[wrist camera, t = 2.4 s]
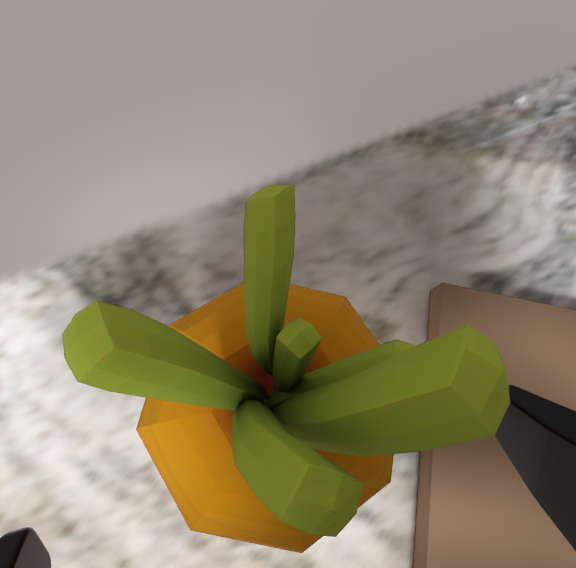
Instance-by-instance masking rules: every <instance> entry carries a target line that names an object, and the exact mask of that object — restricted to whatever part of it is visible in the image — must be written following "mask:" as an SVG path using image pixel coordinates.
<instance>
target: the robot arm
mask: <svg viewBox="0 0 576 568" xmlns="http://www.w3.org/2000/svg"><path fill="white" fill-rule="evenodd" d="M508 387H509V396H510V404H509V406H508V408H507V410H506V413H505V415H504V417H503V419H502V421H501V423H500V425H499V427H498V429H497V432H496V434H495V438H496V439H497V441H498V442H499V444H500V446H501V447H502V449H503V450H504V452H505V453H506V455H507V457H508V458H509V460H510V461H511V463H512V464H513V466H514V468H515V469H516V471H517V472H518V474H519V475H520V477H521V479H522V480H523V482H524V483H525V485H526V486H527V488H528V489H529V491H530V492H531V494H532V495H533V497H534V498H535V499H536V501H537V502H538V503H539V505H540V506H541V507H542V509H543V510H544V511H545V512H546V514H547V515H548V516H549V518H550V519H551V520H552V522H553V523H554V524H555V525H556V527H557V528H558V529H559V531H560V532H561V533H562V534H563V536H564V537H565V538H566V540H567V541H568V542H569V544H570V545H571V546H572V547H573V549H574V550H575V551H576V411H574V410H572V409H570V408H567V407H565V406H562V405H560V404H558V403H555V402H553V401H551V400H548V399H546V398H543V397H541V396H539V395H536V394H534V393H531V392H529V391H527V390H524V389H522V388H519V387H517V386H514V385H511V384H508ZM0 568H51V559H50V555H49V553H48V551H47V549H46V548H45V546H44V545H43V543H42V541H41V540H40V538H39V537H38V535H37V534H36V532H35V531H34V529H32V528H30V527H26V528H22V529H19V530H16V531H12V532H9V533H7V534H5V535H3V536H2V537H1V538H0Z"/></svg>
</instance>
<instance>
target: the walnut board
mask: <svg viewBox="0 0 576 568" xmlns="http://www.w3.org/2000/svg"><path fill="white" fill-rule="evenodd" d="M468 324H469V325H470V326H472V327H473V328H475V329H476V330H477V331H479V332H480V333H482V334H483V335H485V336H486V337H487V338H489V339H490V340H492V341H493V342H494V343H496V345H497V348H498V350H499V353H500V356H501V358H502V361H503V363H504V366H505V368H506V371H507V377H508V384H511V385H514V386H517V387H519V388H522V389H524V390H527V391H529V392H531V393H534V394H536V395H539V396H541V397H543V398H546V399H548V400H551V401H553V402H555V403H558V404H560V405H562V406H565V407H567V408H570V409H572V410H574V411H576V310H573V309H568V308H563V307H558V306H553V305H548V304H543V303H539V302H534V301H529V300H524V299H519V298H514V297H509V296H504V295H499V294H494V293H489V292H485V291H480V290H475V289H470V288H465V287H460V286H455V285H450V284H445V283H441V284H440V285H438V286H437V287H435V288H434V289H433V290H431V292H430V308H429V324H428V340H427V341H429V340H431V339H434V338H436V337H439V336H441V335H443V334H446V333H448V332H451V331H453V330H456V329H458V328H460V327H463V326H465V325H468ZM413 568H576V551H575V550H574V549H573V547H572V546H571V545H570V544H569V542H568V541H567V540H566V538H565V537H564V536H563V534H562V533H561V532H560V531H559V529H558V528H557V527H556V525H555V524H554V523H553V522H552V520H551V519H550V518H549V516H548V515H547V514H546V512H545V511H544V510H543V509H542V507H541V506H540V505H539V503H538V502H537V501H536V499H535V498H534V497H533V495H532V494H531V492H530V491H529V489H528V488H527V486H526V485H525V483H524V482H523V480H522V479H521V477H520V475H519V474H518V472H517V471H516V469H515V468H514V466H513V464H512V463H511V461H510V460H509V458H508V457H507V455H506V453H505V452H504V450H503V449H502V447H501V446H500V444H499V442H498V441H497V439H496V438H495V436H491V437H486V438H481V439H477V440H472V441H468V442H463V443H459V444H454V445H450V446H445V447H441V448H436V449H432V450H427V451H421V452H420V468H419V484H418V500H417V516H416V532H415V548H414V564H413Z"/></svg>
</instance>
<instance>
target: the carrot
mask: <svg viewBox="0 0 576 568" xmlns="http://www.w3.org/2000/svg"><path fill="white" fill-rule="evenodd" d="M294 234H295V199H294V186H291V185H269V186H267V187H266V188H264V189H262V190H260V191H259V192H257V193H255V194H254V195H253V196H252V197H251V198H249V199H248V200H247V201H246V206H245V220H244V283H242V284H240V285H238V286H237V287H235V288H233V289H231V290H230V291H228V292H226V293H224V294H223V295H221V296H219V297H217V298H216V299H214V300H212V301H211V302H209V303H207V304H205V305H204V306H202V307H200V308H198V309H197V310H195V311H193V312H191V313H190V314H188V315H186V316H184V317H183V318H181V319H179V320H178V321H176V322H174V323H172V324H171V325H169V326H167V325H165V324H162V323H160V322H158V321H155V320H153V319H151V318H149V317H146V316H144V315H142V314H139V313H137V312H135V311H133V310H130V309H126V308H122V307H119V306H115V305H111V304H107V303H103V302H100V301H96V302H94V303H92V304H91V305H89V306H88V307H86V308H85V309H83V310H82V311H80V312H78V313H77V314H75V316H74V317H73V319H72V320H71V322H70V323H69V325H68V326H67V328H66V329H65V331H64V333H63V334H62V336H63V345H64V355H65V359H66V361H67V363H68V365H69V367H70V369H71V370H72V372H73V374H74V376H75V378H76V380H77V382H81V383H84V384H87V385H90V386H94V387H97V388H100V389H103V390H107V391H111V392H117V393H123V394H129V395H135V396H141V397H146V400H145V403H144V406H143V409H142V413H141V416H140V419H139V422H138V426H137V429H136V430H137V432H138V434H139V435H140V437H141V439H142V441H143V443H144V445H145V447H146V448H147V450H148V452H149V454H150V456H151V458H152V460H153V461H154V463H155V465H156V467H157V469H158V471H159V473H160V474H161V476H162V478H163V480H164V482H165V484H166V486H167V487H168V489H169V491H170V493H171V495H172V497H173V499H174V500H175V502H176V504H177V506H178V508H179V510H180V512H181V513H182V515H183V517H184V519H185V521H186V523H187V525H188V526H189V528H190V530H192V531H197V532H202V533H207V534H211V535H216V536H221V537H226V538H231V539H236V540H241V541H245V542H250V543H255V544H260V545H265V546H270V547H275V548H280V549H284V550H289V551H294V552H299V553H303V552H304V551H305V550H306V549H308V548H309V547H310V546H311V545H313V544H314V543H315V542H316V541H318V540H319V539H320V538H321V537H323V536H334V537H336V536H337V535H338V533H339V532H340V531H341V530H342V529H343V528H344V527H345V526H346V525H347V523H348V522H349V521H350V520H351V519H352V518H353V517H354V516H355V515H356V512H357V508H359V507H360V506H361V505H362V504H364V503H365V502H366V501H367V500H369V499H370V498H371V497H372V496H374V495H375V494H376V493H377V492H379V491H380V490H381V489H382V488H384V487H385V486H386V485H387V484H389V483H390V482H391V473H392V464H393V455H394V454H398V453H408V452H418V451H427V450H432V449H436V448H441V447H445V446H450V445H454V444H459V443H463V442H468V441H472V440H477V439H481V438H486V437H491V436H495V434H496V432H497V429H498V427H499V425H500V423H501V421H502V419H503V417H504V415H505V413H506V410H507V408H508V406H509V404H510V396H509V387H508V377H507V371H506V368H505V366H504V363H503V361H502V358H501V356H500V353H499V350H498V348H497V345H496V343H494V342H493V341H492V340H490V339H489V338H487V337H486V336H485V335H483V334H482V333H480V332H479V331H477V330H476V329H475V328H473V327H472V326H470V325H469V324H468V325H465V326H463V327H460V328H458V329H456V330H453V331H451V332H448V333H446V334H443V335H441V336H439V337H436V338H434V339H431V340H429V341H426V342H424V343H422V344H419V345H417V346H414V345H411V344H408V343H406V342H403V341H400V340H397V339H396V340H393V341H390V342H387V343H384V344H382V345H379V344H378V342H377V341H376V339H375V338H374V336H373V335H372V334H371V332H370V331H369V329H368V328H367V327H366V325H365V324H364V322H363V321H362V319H361V318H360V317H359V315H358V314H357V312H356V311H355V310H354V308H353V307H352V305H351V304H350V303H349V301H348V300H347V298H346V297H343V296H339V295H334V294H330V293H326V292H321V291H317V290H313V289H308V288H304V287H299V286H295V285H291V284H290V277H291V270H292V263H293V255H294Z"/></svg>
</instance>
